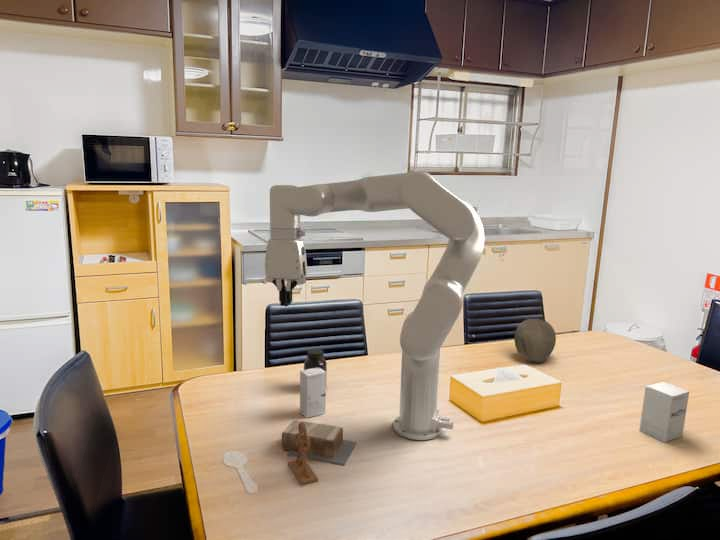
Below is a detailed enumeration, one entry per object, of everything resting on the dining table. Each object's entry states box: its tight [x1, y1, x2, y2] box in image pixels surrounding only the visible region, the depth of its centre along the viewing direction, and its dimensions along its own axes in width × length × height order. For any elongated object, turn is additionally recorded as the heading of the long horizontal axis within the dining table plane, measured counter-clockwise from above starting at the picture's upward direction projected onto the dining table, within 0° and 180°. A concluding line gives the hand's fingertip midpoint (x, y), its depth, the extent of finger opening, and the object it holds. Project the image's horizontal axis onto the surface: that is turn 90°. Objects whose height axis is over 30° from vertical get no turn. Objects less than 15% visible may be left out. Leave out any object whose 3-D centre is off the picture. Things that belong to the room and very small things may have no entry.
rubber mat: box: [286, 439, 357, 466], centre depth 125 cm, size 14×10×1 cm
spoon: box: [222, 450, 259, 494], centre depth 116 cm, size 5×18×1 cm, turn 29°
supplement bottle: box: [303, 348, 328, 373], centre depth 158 cm, size 7×7×12 cm
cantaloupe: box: [514, 318, 557, 363], centre depth 185 cm, size 14×14×15 cm
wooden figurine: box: [287, 422, 319, 487], centre depth 114 cm, size 9×4×12 cm, turn 27°
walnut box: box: [281, 419, 344, 458], centre depth 126 cm, size 4×7×13 cm
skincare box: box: [299, 367, 327, 419], centre depth 143 cm, size 6×4×12 cm
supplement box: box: [639, 381, 690, 443], centre depth 135 cm, size 7×7×13 cm
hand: (285, 304), depth 136 cm, fingers closed
